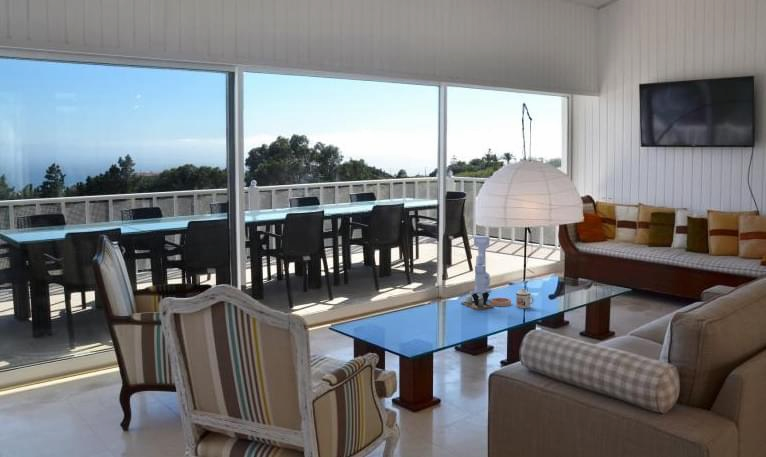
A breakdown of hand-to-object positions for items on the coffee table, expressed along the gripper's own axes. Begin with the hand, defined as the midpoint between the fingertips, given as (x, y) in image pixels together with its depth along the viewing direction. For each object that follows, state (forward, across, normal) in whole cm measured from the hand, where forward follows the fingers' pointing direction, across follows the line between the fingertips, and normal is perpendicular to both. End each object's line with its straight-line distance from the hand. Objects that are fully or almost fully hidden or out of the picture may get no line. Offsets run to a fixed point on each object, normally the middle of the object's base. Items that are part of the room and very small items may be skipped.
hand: (480, 304), depth 448 cm
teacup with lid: (+2, +26, -11) cm, 28 cm away
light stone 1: (+1, -3, +9) cm, 10 cm away
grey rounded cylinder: (+1, 0, 0) cm, 1 cm away
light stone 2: (+1, +3, +9) cm, 10 cm away
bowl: (+2, +16, +2) cm, 16 cm away
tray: (+2, 0, +4) cm, 4 cm away
